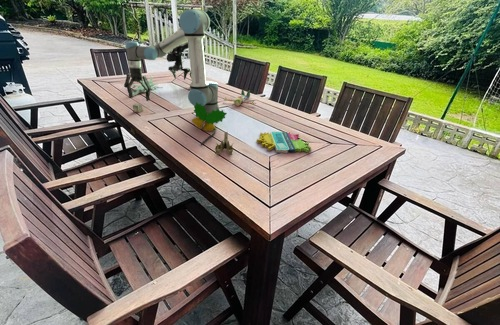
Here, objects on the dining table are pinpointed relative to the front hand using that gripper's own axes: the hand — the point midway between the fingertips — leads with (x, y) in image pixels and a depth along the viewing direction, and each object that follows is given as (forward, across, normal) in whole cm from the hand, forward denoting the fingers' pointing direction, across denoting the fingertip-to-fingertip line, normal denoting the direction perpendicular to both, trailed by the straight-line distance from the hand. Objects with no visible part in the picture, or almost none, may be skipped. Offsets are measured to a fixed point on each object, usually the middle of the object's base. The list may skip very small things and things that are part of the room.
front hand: (139, 99), depth 182 cm
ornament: (+8, +58, -12) cm, 59 cm away
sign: (+7, +105, -14) cm, 106 cm away
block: (+8, 0, -3) cm, 9 cm away
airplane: (+8, -28, +43) cm, 52 cm away
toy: (+8, +58, +55) cm, 80 cm away
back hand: (-1, -5, +65) cm, 65 cm away
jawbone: (+7, +78, -37) cm, 86 cm away
